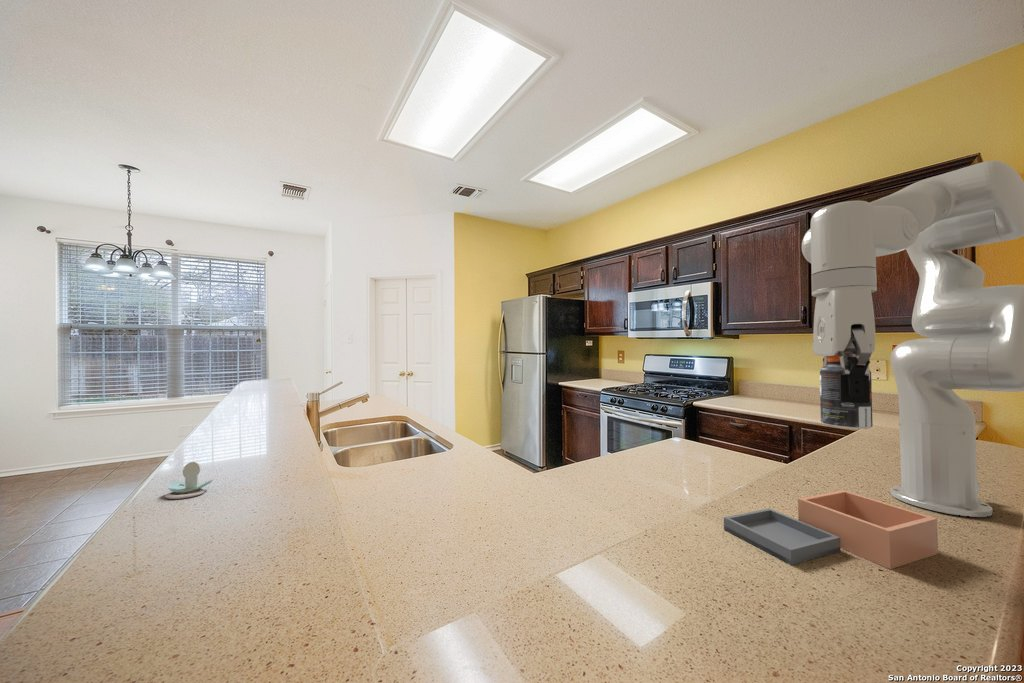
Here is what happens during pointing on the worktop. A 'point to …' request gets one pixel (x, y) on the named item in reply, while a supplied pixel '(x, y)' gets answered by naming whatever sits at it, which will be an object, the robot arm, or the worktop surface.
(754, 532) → the charcoal tray
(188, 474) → the pacifier
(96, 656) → the worktop surface
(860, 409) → the pill bottle
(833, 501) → the frame
